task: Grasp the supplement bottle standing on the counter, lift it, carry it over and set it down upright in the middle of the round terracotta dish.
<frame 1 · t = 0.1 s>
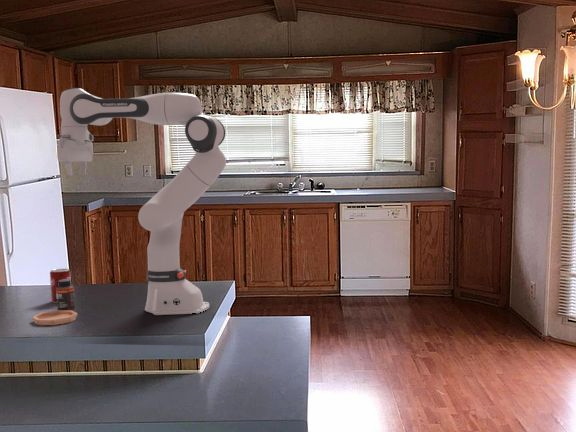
hand: (76, 174, 215), 48 cm above the table, fingers open, 8 cm apart
soda can: (61, 301, 231), on the table
supplement bottle: (66, 312, 214), on the table
dish: (55, 320, 202), on the table
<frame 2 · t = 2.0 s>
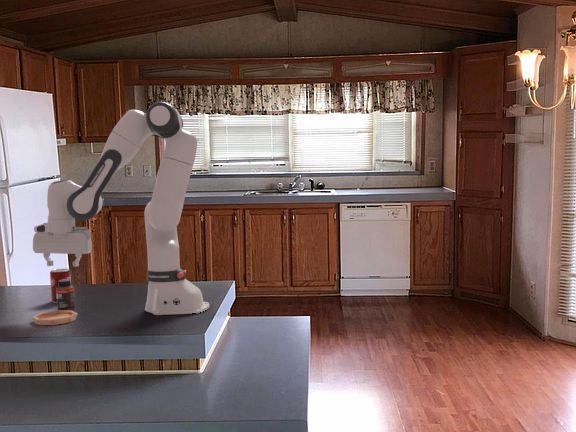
hand: (63, 266, 212), 16 cm above the table, fingers open, 8 cm apart
nothing on the table moved.
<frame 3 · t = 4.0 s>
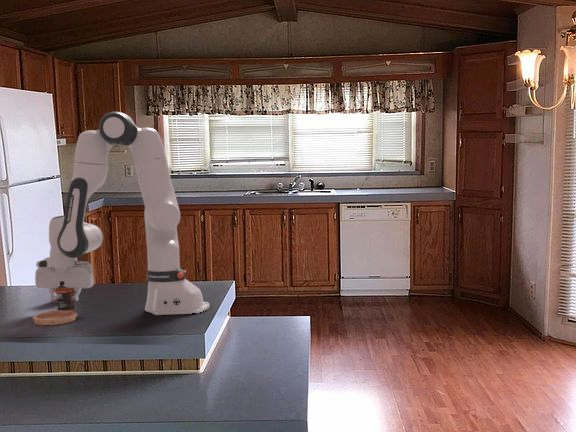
hand: (65, 300, 213), 4 cm above the table, fingers closed on supplement bottle, 6 cm apart
supplement bottle: (66, 312, 214), on the table, touching gripper
everything else where it was.
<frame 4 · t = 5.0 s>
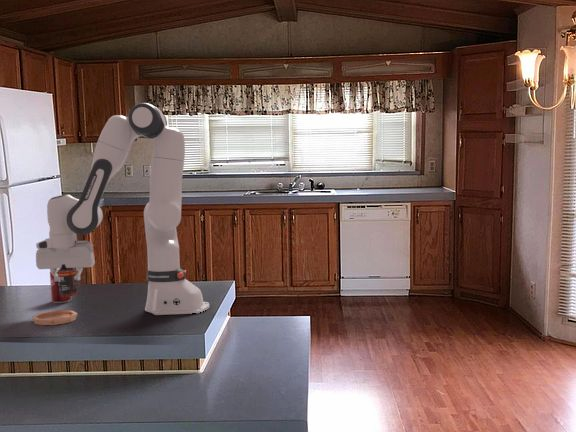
hand: (67, 280, 213), 11 cm above the table, fingers closed on supplement bottle, 6 cm apart
supplement bottle: (68, 295, 213), point 6 cm above the table, touching gripper
everything else where it was.
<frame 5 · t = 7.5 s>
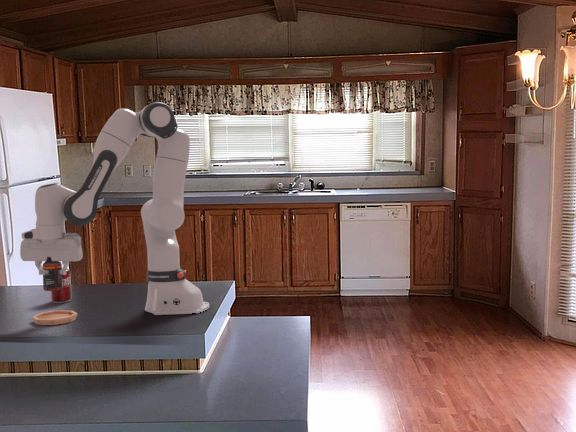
hand: (52, 274, 201), 15 cm above the table, fingers closed on supplement bottle, 6 cm apart
supplement bottle: (52, 290, 201), point 10 cm above the table, touching gripper
everything else where it was.
when the fingers open (7 cm above the table, at t = 9.9 s): supplement bottle stays where it is, resting on dish.
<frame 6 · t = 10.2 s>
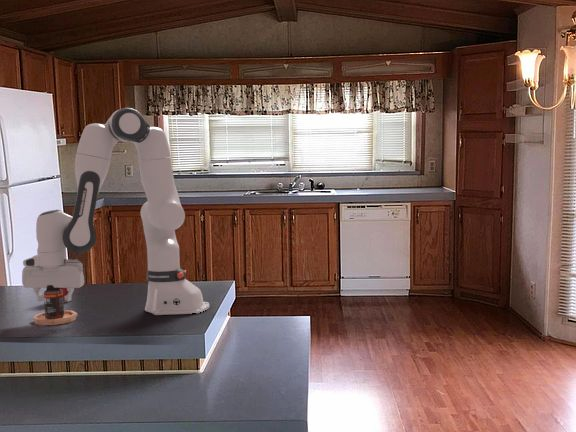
hand: (54, 300, 202), 7 cm above the table, fingers open, 8 cm apart
supplement bottle: (54, 318, 202), point 1 cm above the table, touching dish
everything else where it was.
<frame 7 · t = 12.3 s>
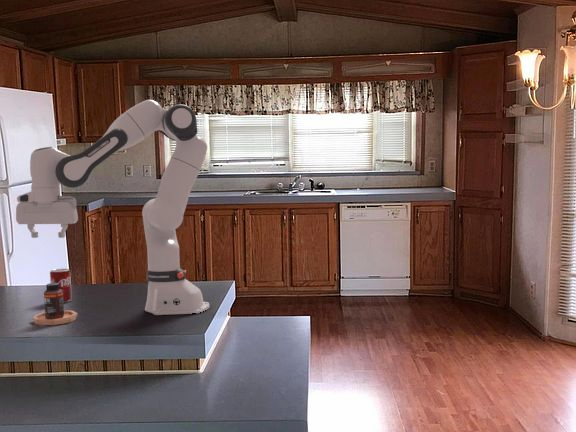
hand: (48, 237, 203), 27 cm above the table, fingers open, 8 cm apart
nothing on the table moved.
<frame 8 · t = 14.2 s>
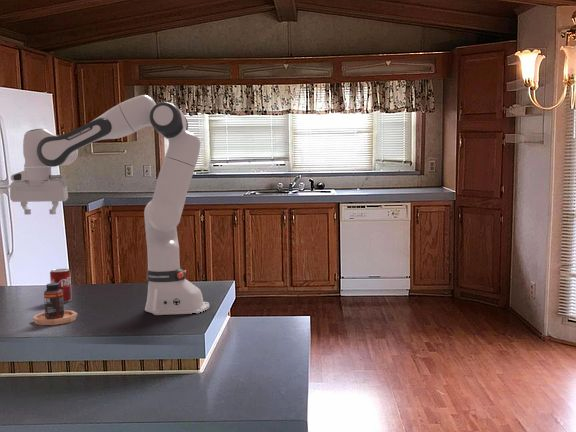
hand: (40, 214, 216), 34 cm above the table, fingers open, 8 cm apart
nothing on the table moved.
at the end: supplement bottle 0.1 cm from the dish (horizontally); supplement bottle tilted 0°; the gripper is holding nothing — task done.
